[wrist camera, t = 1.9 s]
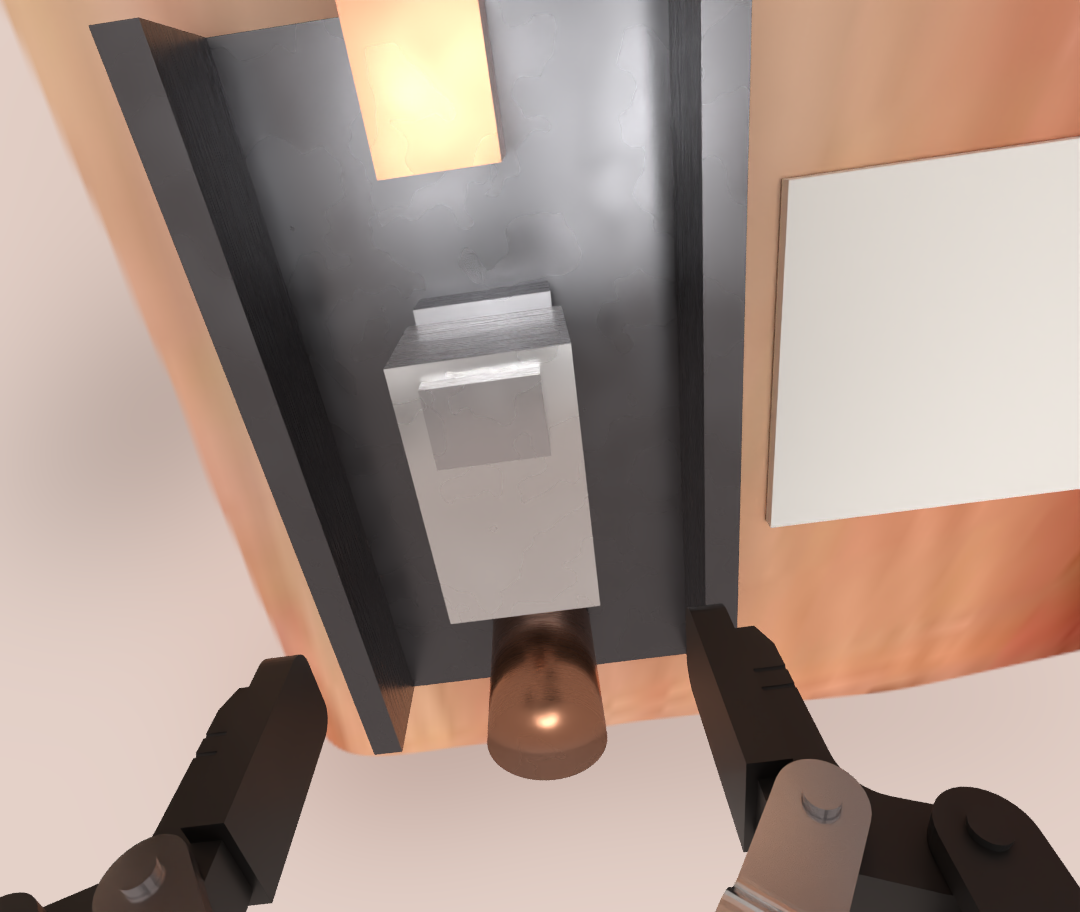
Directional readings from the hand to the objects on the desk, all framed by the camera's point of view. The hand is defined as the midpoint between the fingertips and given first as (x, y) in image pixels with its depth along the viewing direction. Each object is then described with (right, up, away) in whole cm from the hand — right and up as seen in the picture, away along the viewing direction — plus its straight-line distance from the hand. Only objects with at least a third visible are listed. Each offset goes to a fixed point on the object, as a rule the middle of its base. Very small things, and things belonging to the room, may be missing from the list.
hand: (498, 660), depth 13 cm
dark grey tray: (0, +6, +12) cm, 13 cm away
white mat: (+17, +8, +11) cm, 22 cm away
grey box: (0, +5, +9) cm, 10 cm away
